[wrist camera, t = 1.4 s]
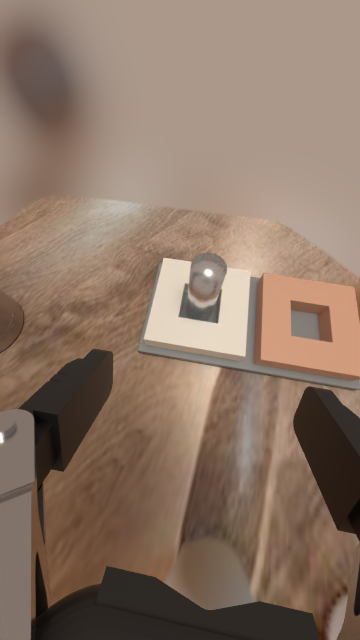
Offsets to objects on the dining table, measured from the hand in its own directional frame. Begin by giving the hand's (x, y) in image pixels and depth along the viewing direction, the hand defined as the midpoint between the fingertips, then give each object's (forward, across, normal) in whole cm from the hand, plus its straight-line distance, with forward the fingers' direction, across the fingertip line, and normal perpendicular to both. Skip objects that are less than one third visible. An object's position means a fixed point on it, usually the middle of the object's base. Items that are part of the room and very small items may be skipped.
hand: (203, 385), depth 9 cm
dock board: (+23, -7, +5) cm, 24 cm away
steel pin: (+22, 0, +4) cm, 22 cm away
